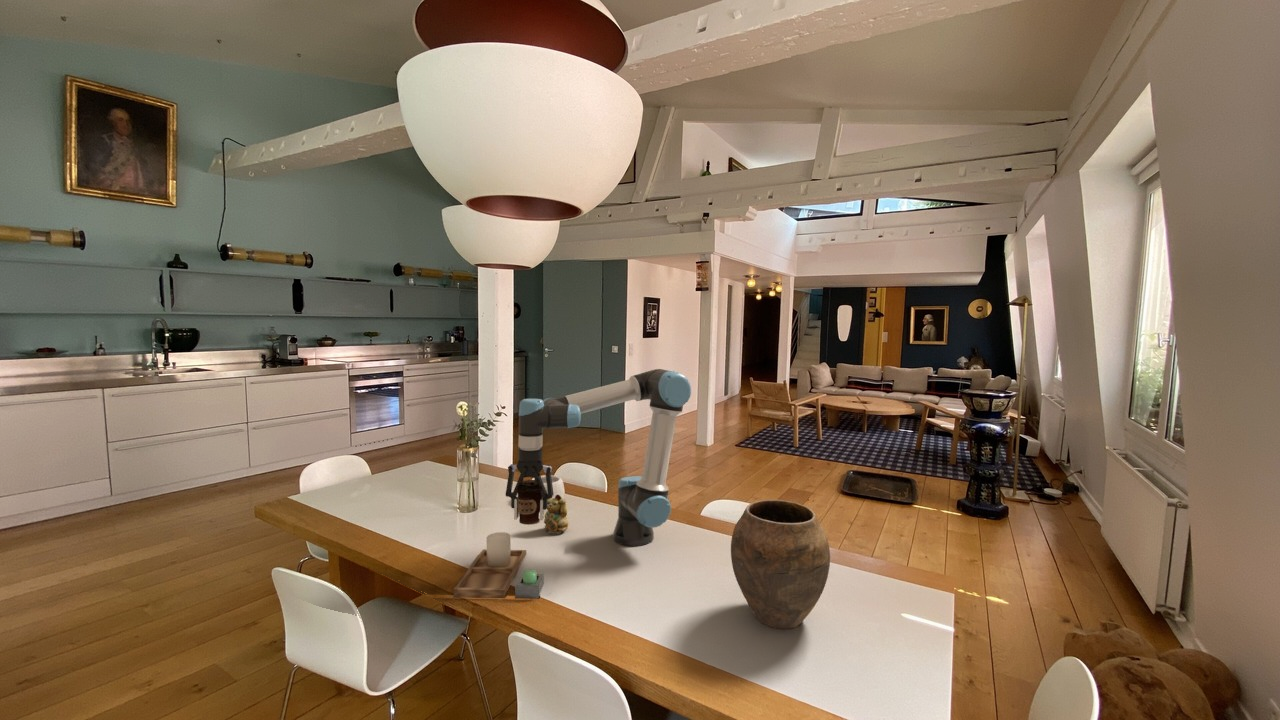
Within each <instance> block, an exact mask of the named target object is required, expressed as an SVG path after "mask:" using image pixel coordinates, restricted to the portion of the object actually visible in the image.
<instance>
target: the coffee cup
mask: <svg viewBox="0 0 1280 720" xmlns="http://www.w3.org/2000/svg"><path fill="white" fill-rule="evenodd" d="M519 484H520V485H519V486H518V487H517V492H518V493H517V497H518V511H519V517H518V518H519V524H521V525H528V526H530V525H537V524H539V523H540V521H541V520H540V500H541V499H542V495H541V493H540V492H541V489H542V488H541V487H540V486H539V484H537V482H536V481H535V480H531V479H527V480H523V481H522V483H519Z"/></svg>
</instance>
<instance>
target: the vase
mask: <svg viewBox="0 0 1280 720" xmlns="http://www.w3.org/2000/svg"><path fill="white" fill-rule="evenodd" d="M731 536H732V537H731V541H730V558H731V565H732V569H733V574H734V577H735V579H736V581H737V585H738V586H739V589H740V591H741V593H742V595H743V597H744V599H745V600H746V603H747V604H748V607H749V608H750V610H751V612H752V613H753V615H754V616H755V618H756V619H757V620H758V621H760V622H761V623H762V624H764V625H766V626H769V627H772V628H774V629H779V630H791V629H794V628H796V627H799V625H800V624H801V623H802V622H803V621H804V620H805V619H806V618H807V617H808V616H809V614H810V613H811V612H812V610H814V608H815V606H816V605H817V603H818V601H819V599H820V598H821V596H822V594H823V591H824V589H825V587H826V584H827V580H828V578H829V573H830V566H831V551H830V544H829V539H828V536H827V533H826V532H825V530H824V528H823V527H822V525H821V523H820V521H819V519H818V517H817V515H816V513H815V512H814V510H812V509H810V508H809V507H808V506H806V505H803V504H800V503H798V502H793V501H788V500H783V499H764V500H758V501H754V502H751V503H750V504H748V505H747V506H746V507H745V509H744V511H743V512H742V515H741V516H740V517H739V520H738V521H737V522H736V524H735V526H734V527H733V532H732V535H731Z"/></svg>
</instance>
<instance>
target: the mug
mask: <svg viewBox="0 0 1280 720" xmlns="http://www.w3.org/2000/svg"><path fill="white" fill-rule="evenodd" d="M551 478H552V486H553V493H554V494H553V497H555V496H556V495H558V494H560V495H561V497H562V499H565V495H566V494H565V491H566V490H565V486H564V485H565V484H564V481H563V479H562V477H559V475H558V476H557V475H552V474H551ZM541 479H542V481H543V484H544V487H545V489H546V492H547V494H548V490H547V482H546V474H544V475H541ZM530 480H535V479H534V478H532V479H530Z"/></svg>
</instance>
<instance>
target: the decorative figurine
mask: <svg viewBox="0 0 1280 720" xmlns="http://www.w3.org/2000/svg"><path fill="white" fill-rule="evenodd" d="M567 516H568V511H567V501H566V499H565V498H564V499H562V497H561V495H560V494H558V495H556V496H555V497H553V496H552V498H548V503H547V508H546V512H545V513H544V518H543V523H544V524H545V525H544V529H545V530H548V533H549V534H553V535H554V534H555V535H560V534H561V533H565V531H567V530H568V527H569V520H568V519H567Z"/></svg>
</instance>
